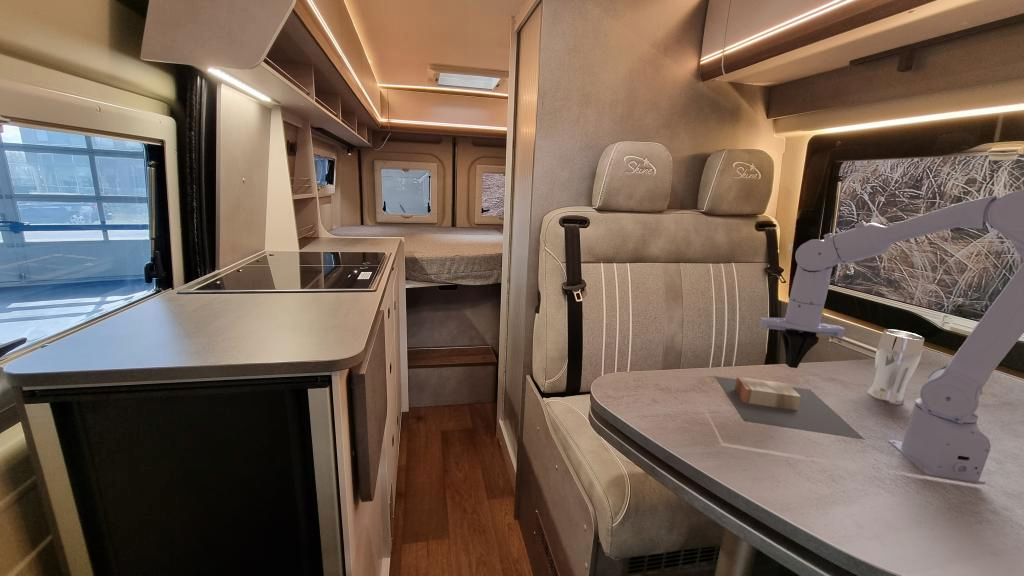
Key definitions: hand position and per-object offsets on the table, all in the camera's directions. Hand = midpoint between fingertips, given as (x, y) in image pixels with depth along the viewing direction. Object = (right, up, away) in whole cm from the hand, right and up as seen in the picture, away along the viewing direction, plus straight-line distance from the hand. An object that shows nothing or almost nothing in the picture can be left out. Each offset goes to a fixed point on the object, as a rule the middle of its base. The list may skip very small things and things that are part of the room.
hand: (791, 365), depth 85 cm
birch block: (+1, -7, +1) cm, 7 cm away
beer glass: (+26, -9, +8) cm, 29 cm away
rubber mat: (-2, -8, +1) cm, 9 cm away
